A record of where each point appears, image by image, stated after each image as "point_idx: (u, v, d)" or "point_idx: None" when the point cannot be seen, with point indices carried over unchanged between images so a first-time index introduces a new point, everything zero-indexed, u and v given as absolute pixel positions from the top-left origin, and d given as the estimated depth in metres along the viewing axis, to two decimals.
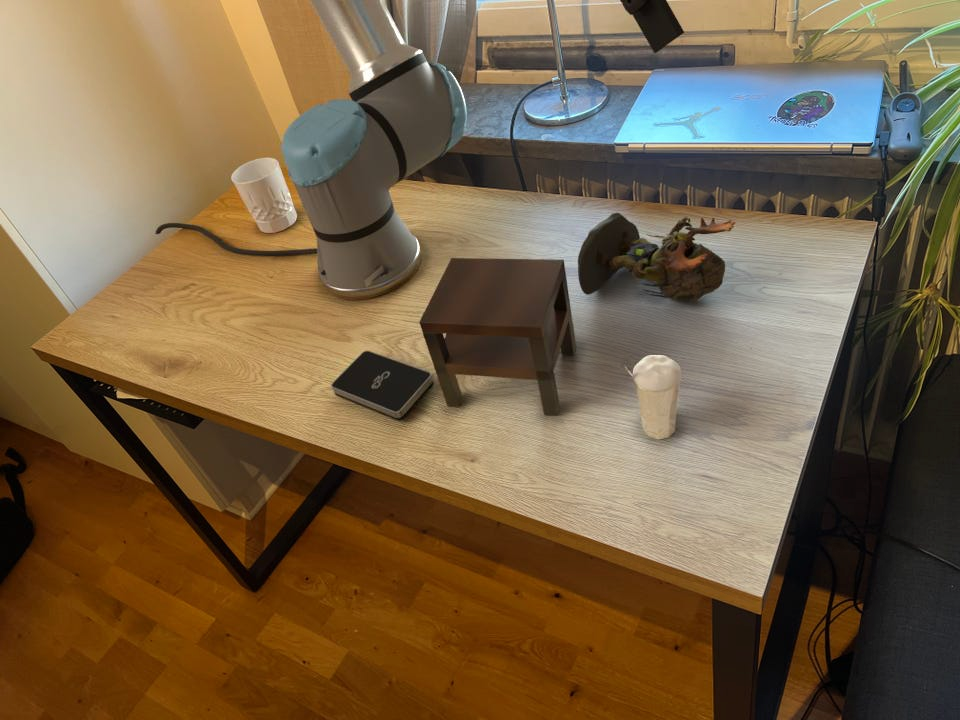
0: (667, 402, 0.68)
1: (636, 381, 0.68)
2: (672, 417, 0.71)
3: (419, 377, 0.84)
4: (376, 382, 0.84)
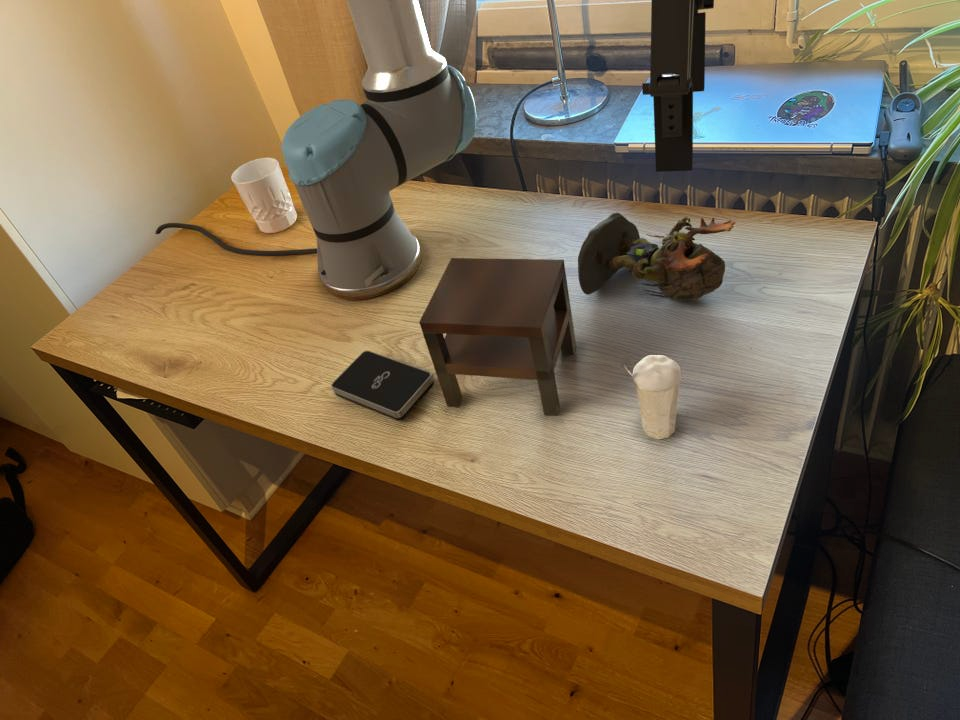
0: (667, 402, 0.68)
1: (636, 381, 0.68)
2: (672, 417, 0.71)
3: (419, 377, 0.84)
4: (376, 382, 0.84)
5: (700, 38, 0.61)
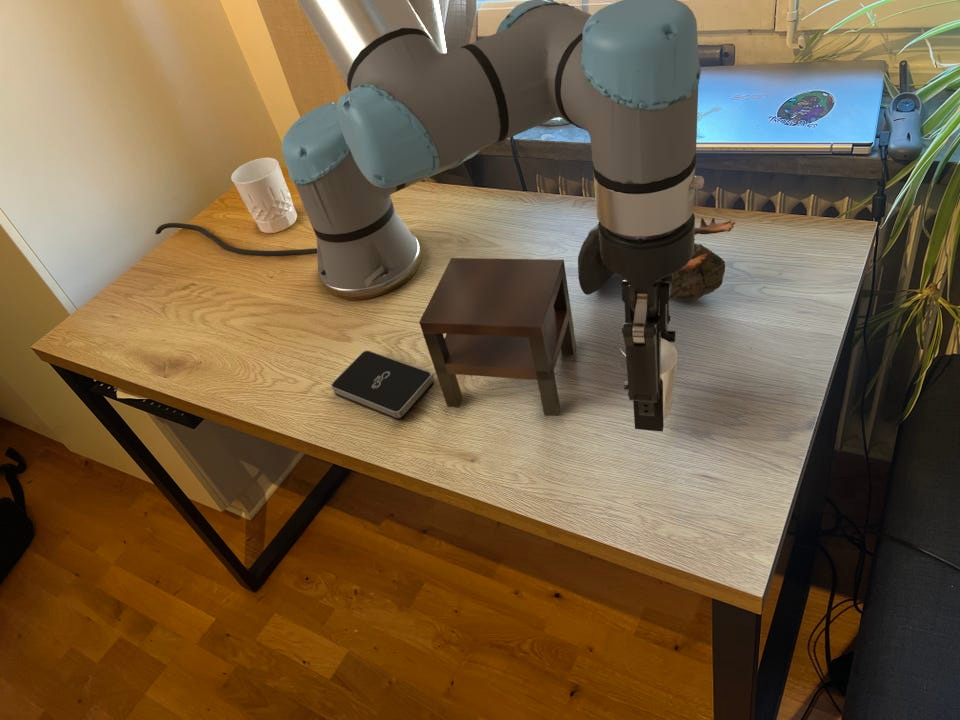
0: (663, 385, 0.67)
1: None
2: (668, 400, 0.69)
3: (419, 377, 0.84)
4: (376, 382, 0.84)
5: None
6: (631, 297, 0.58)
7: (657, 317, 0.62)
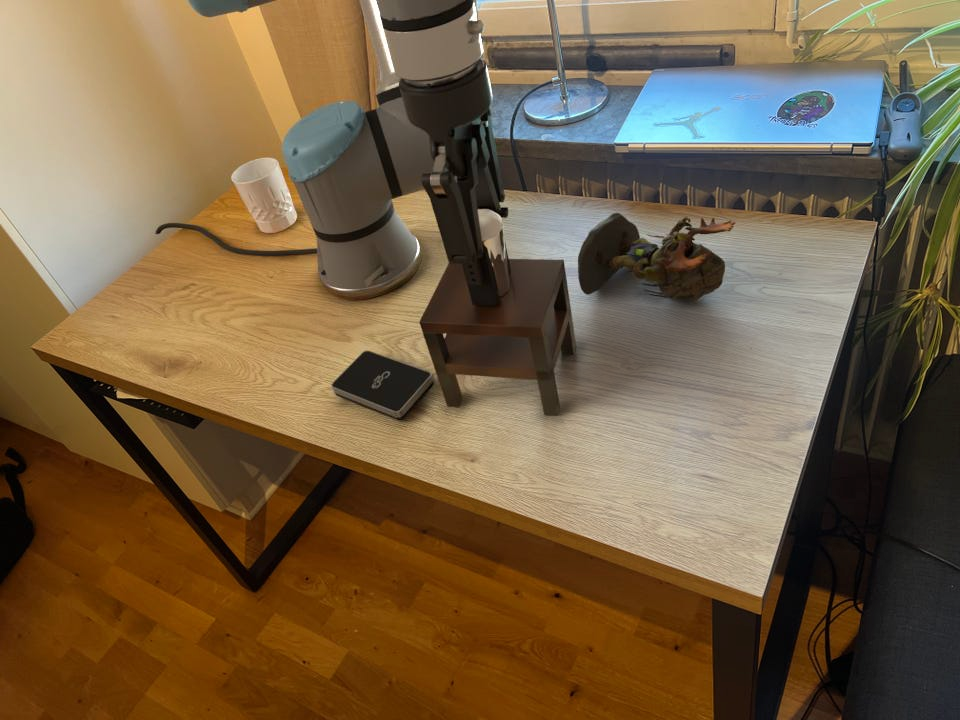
0: (490, 254, 0.69)
1: None
2: (501, 273, 0.72)
3: (419, 376, 0.84)
4: (376, 382, 0.84)
5: None
6: (431, 149, 0.60)
7: None
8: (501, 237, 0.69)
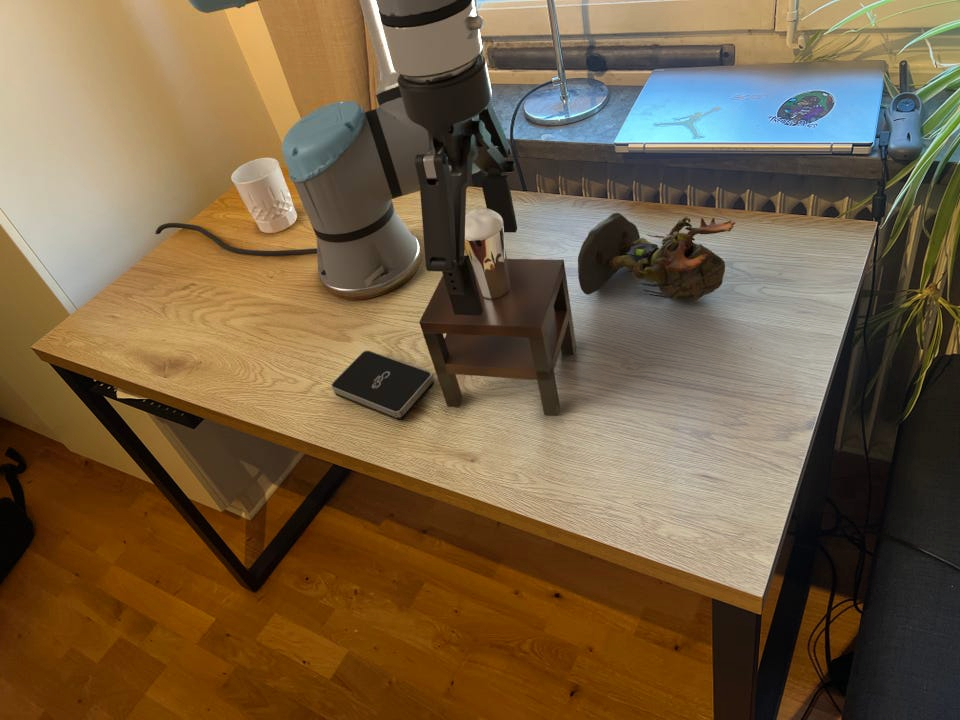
0: (490, 253, 0.69)
1: None
2: (501, 273, 0.72)
3: (419, 376, 0.84)
4: (376, 382, 0.84)
5: (505, 195, 0.74)
6: (430, 145, 0.60)
7: None
8: (501, 236, 0.69)
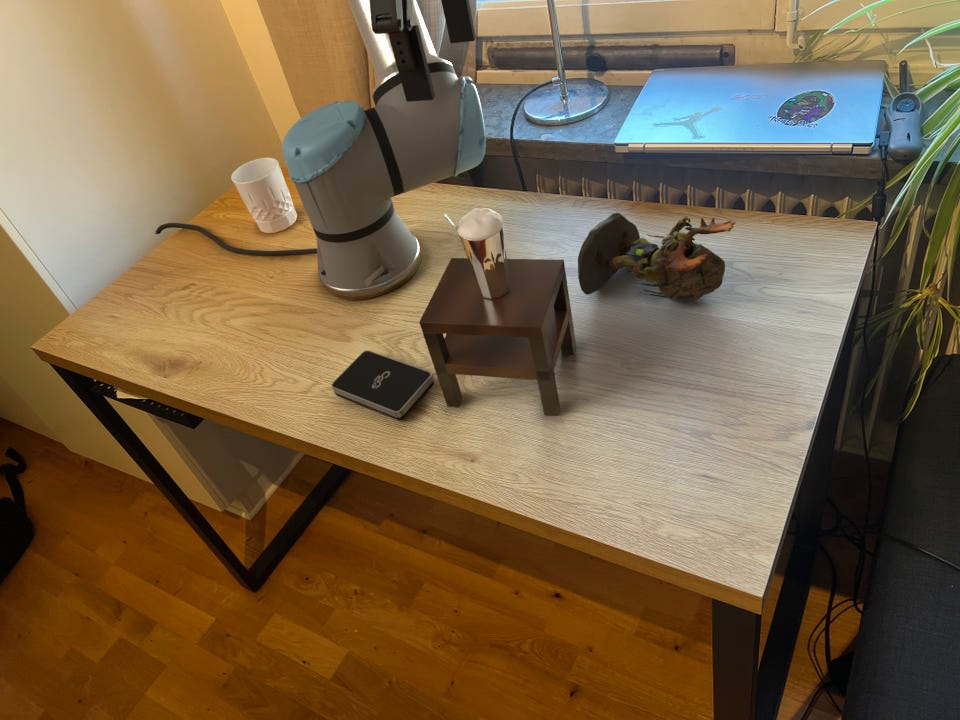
0: (490, 253, 0.69)
1: (458, 232, 0.69)
2: (501, 273, 0.72)
3: (419, 376, 0.84)
4: (376, 382, 0.84)
5: None
6: None
7: None
8: (501, 236, 0.69)
